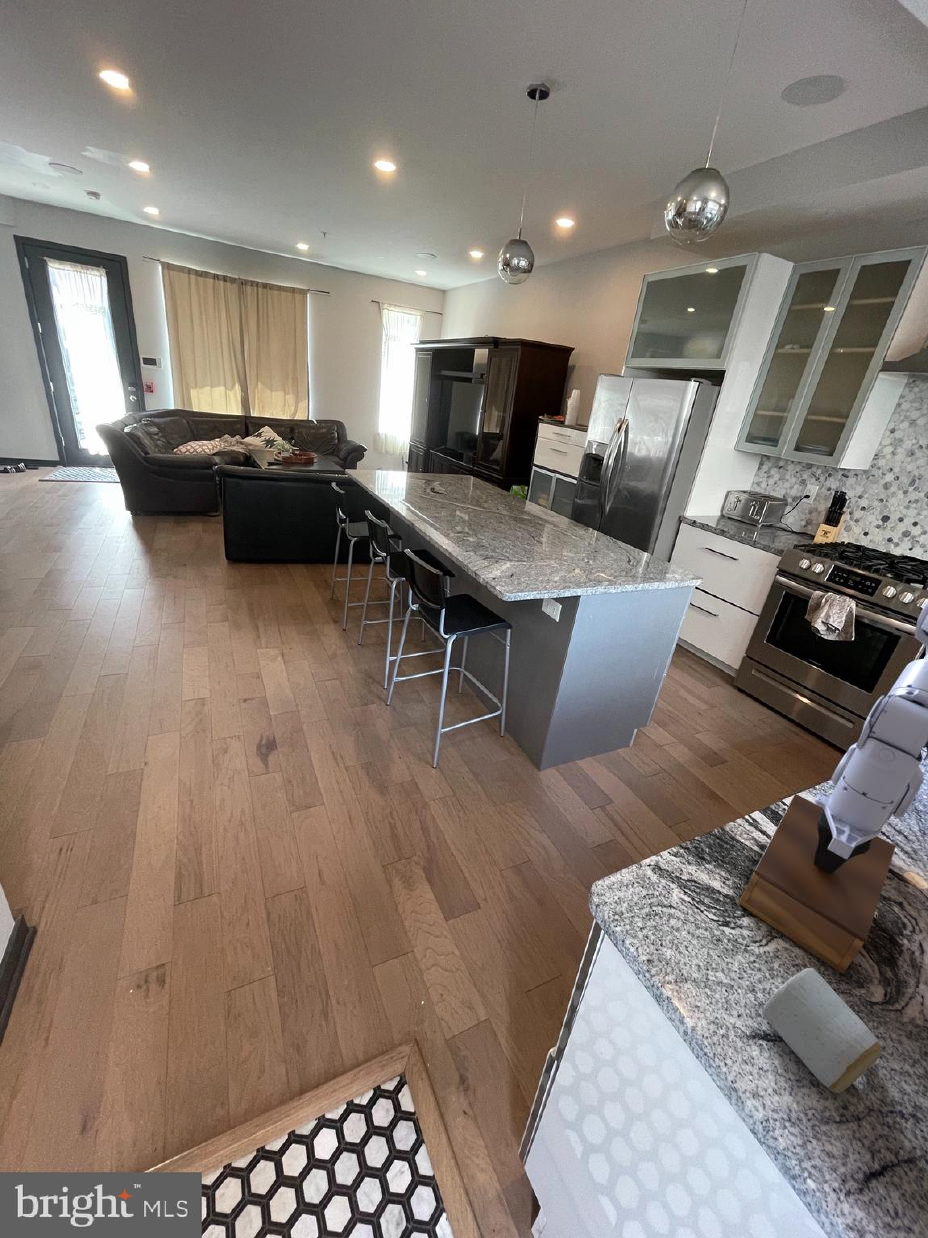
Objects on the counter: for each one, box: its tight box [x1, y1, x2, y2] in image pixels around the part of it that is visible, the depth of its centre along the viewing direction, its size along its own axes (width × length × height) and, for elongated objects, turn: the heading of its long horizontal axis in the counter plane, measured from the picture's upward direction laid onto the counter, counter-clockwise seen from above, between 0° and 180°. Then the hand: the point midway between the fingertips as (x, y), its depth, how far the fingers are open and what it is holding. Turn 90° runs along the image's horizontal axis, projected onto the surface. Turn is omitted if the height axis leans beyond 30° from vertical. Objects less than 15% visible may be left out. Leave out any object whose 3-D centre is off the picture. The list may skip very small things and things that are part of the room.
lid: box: [753, 793, 896, 943], centre depth 69 cm, size 16×13×1 cm
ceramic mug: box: [761, 967, 883, 1094], centre depth 54 cm, size 11×8×8 cm
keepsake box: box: [738, 872, 865, 975], centre depth 71 cm, size 16×13×6 cm
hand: (822, 866), depth 68 cm, fingers closed
